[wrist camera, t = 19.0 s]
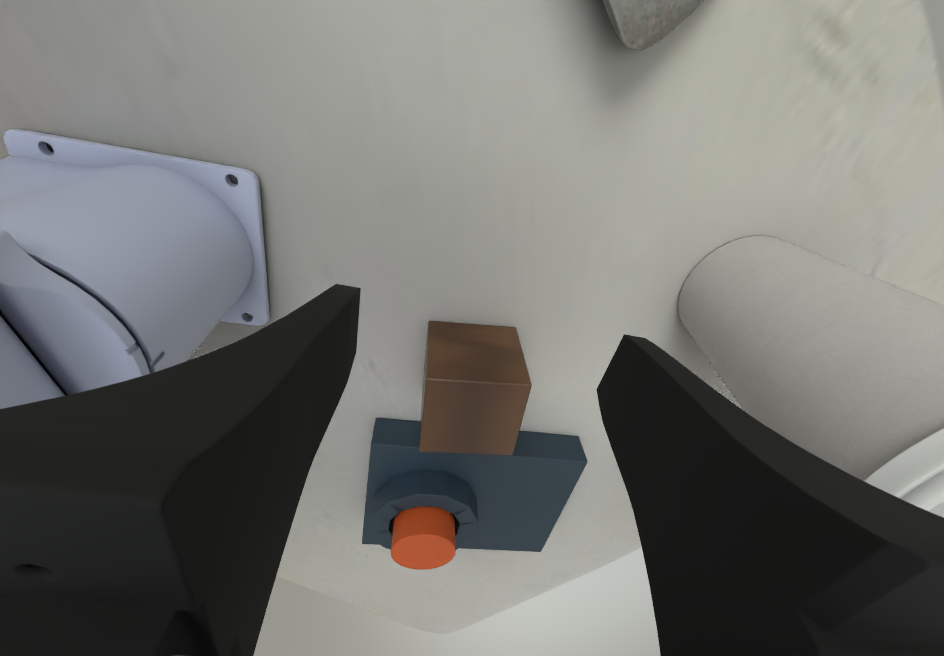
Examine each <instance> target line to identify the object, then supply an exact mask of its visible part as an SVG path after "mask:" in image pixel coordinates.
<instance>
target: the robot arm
mask: <svg viewBox="0 0 944 656" xmlns="http://www.w3.org/2000/svg"><path fill="white" fill-rule="evenodd" d="M3 138H4V142H5V145H6V148H7V150H8V153H9V156H10V157H8V158H4V159H0V656H253V655H254V651H255V647H256V644H257V640H258V636H259V633H260V630H261V626H262V623H263V619H264V615H265V612H266V608H267V605H268V601H269V598H270V595H271V591H272V588H273V585H274V581H275V578H276V574H277V571H278V568H279V564H280V561H281V558H282V554H283V551H284V548H285V544H286V541H287V538H288V535H289V532H290V528H291V525H292V522H293V519H294V516H295V512H296V509H297V506H298V503H299V500H300V497H301V494H302V491H303V488H304V485H305V481H306V478H307V475H308V472H309V469H310V467H311V464H312V462H313V459H314V457H315V454H316V452H317V450H318V447H319V445H320V443H321V441H322V438H323V436H324V434H325V432H326V430H327V427H328V425H329V423H330V421H331V418H332V416H333V414H334V412H335V409H336V407H337V405H338V403H339V400H340V398H341V396H342V393H343V391H344V389H345V387H346V384H347V381H348V378H349V375H350V371H351V368H352V364H353V361H354V357H355V354H356V346H357V332H358V318H359V303H360V289H361V288H356V287H351V286H345V285H339V284H336V285H334V286H332V287H331V288H329V289H328V290H326V291H324V292H323V293H321V294H320V295H318V296H317V297H315V298H314V299H312V300H311V301H309V302H307V303H306V304H304V305H303V306H301V307H300V308H298V309H296V310H295V311H293V312H292V313H290V314H288V315H287V316H285V317H283V318H281V319H279V320H278V321H276V322H274V323H272V324H270V325H268V326H267V327H265V328H263V329H261V330H259V331H257V332H255V333H254V334H252V335H250V336H247V337H245V338H243V339H241V340H239V341H237V342H235V343H232V344H230V345H228V346H225V347H223V348H221V349H218V350H216V351H213V352H211V353H208V354H206V355H203V356H201V357H198V358H195V359H192V360H189V361H187V360H188V359H189V357H190V356H191V355H192V354H193V353H194V351H195V350H196V349H197V348H198V347H199V345H200V344H201V343H202V342H203V341H204V340H205V338H206V337H207V336H208V335H209V334H210V332H211V331H212V330H213V329H214V328H215V326H216V325H217V324H218V323H219V322H220V321H221V322H229V323H237V324H246V325H254V326H263V325H265V324H266V323H267V322H268V321H269V318H270V312H269V300H268V287H267V274H266V261H265V249H264V236H263V223H262V210H261V198H260V185H259V180H258V177H257V176H256V175H255V174H254V173H253V172H252V171H250V170H247V169H243V168H238V167H232V166H226V165H221V164H215V163H209V162H204V161H198V160H192V159H187V158H181V157H175V156H170V155H164V154H158V153H153V152H147V151H141V150H136V149H130V148H125V147H119V146H113V145H108V144H102V143H96V142H91V141H85V140H79V139H74V138H68V137H62V136H57V135H51V134H45V133H40V132H34V131H29V130H23V129H12V130H8V131H6V132H5V133H4V135H3ZM46 143H48V144H49V145H50V146H51V147H52V148H53V150H54V153H53V152H51V151H50V150H49V149H48V148H47V146H46ZM229 174H232V175H234V176H235V177H236V178H237V179H238V184H237V185H236V184H234V183H232V182H231V181H230V179H229ZM245 313H248V314H250V315H251V316H252V318H250V317H248V316H246V315H245ZM597 394H598V400H599V406H600V411H601V416H602V420H603V424H604V427H605V430H606V433H607V436H608V438H609V441H610V444H611V447H612V450H613V453H614V456H615V458H616V461H617V464H618V467H619V470H620V472H621V475H622V478H623V481H624V484H625V486H626V489H627V492H628V495H629V498H630V501H631V505H632V508H633V511H634V516H635V520H636V524H637V528H638V532H639V537H640V541H641V545H642V550H643V554H644V559H645V564H646V569H647V574H648V579H649V584H650V589H651V595H652V601H653V607H654V613H655V619H656V625H657V631H658V638H659V645H660V654H661V656H944V518H943V517H941V516H938V515H936V514H934V513H931V512H929V511H927V510H924V509H922V508H920V507H917V506H915V505H913V504H911V503H908V502H906V501H904V500H902V499H900V498H898V497H896V496H894V495H892V494H889V493H887V492H885V491H883V490H881V489H879V488H877V487H875V486H873V485H870V484H868V483H867V482H865V481H863V480H861V479H859V478H857V477H855V476H853V475H851V474H849V473H847V472H845V471H843V470H841V469H839V468H837V467H836V466H834V465H832V464H830V463H828V462H826V461H825V460H823V459H821V458H819V457H817V456H815V455H814V454H812V453H810V452H808V451H806V450H805V449H803V448H801V447H800V446H798V445H796V444H794V443H793V442H791V441H789V440H788V439H786V438H785V437H783V436H781V435H780V434H778V433H777V432H775V431H773V430H772V429H770V428H769V427H767V426H765V425H764V424H762V423H761V422H759V421H758V420H756V419H755V418H753V417H752V416H750V415H749V414H747V413H746V412H745V411H743V410H742V409H740V408H739V407H738V406H736V405H735V404H733V403H732V402H731V401H729V400H728V399H726V398H725V397H724V396H722V395H721V394H720V393H718V392H717V391H716V390H714V389H713V388H712V387H710V386H709V385H708V384H706V383H705V382H704V381H702V380H701V379H700V378H699V377H697V376H696V375H695V374H693V373H692V372H691V371H690V370H688V369H687V368H686V367H684V366H683V365H682V364H681V363H679V362H678V361H677V360H675V359H674V358H673V357H672V356H670V355H669V354H668V353H666V352H665V351H663V350H662V349H661V348H659V347H658V346H657V345H655V344H654V343H652V342H650V341H649V340H647V339H645V338H641V337H635V336H630V335H624V336H623V338H622V340H621V342H620V344H619V346H618V348H617V350H616V352H615V354H614V356H613V358H612V360H611V362H610V364H609V366H608V368H607V370H606V372H605V374H604V376H603V378H602V380H601V382H600V384H599V386H598V388H597Z"/></svg>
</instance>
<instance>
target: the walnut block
mask: <svg viewBox="0 0 944 656" xmlns="http://www.w3.org/2000/svg"><path fill="white" fill-rule="evenodd" d="M531 386H532V385H531V381H530V377H529V374H528V370H527V366H526V363H525V359H524V355H523V352H522V348H521V345H520V341H519V337H518V334H517V330H516V328H514V327H501V326H489V325H476V324H463V323H450V322H437V321H429V322H428V332H427V344H426V355H425V366H424V377H423V389H422V407H421V424H420V442H419V451H420V452H442V453H468V454H494V455H512V454H513V451H514V448H515V444H516V440H517V437H518V433H519V429H520V426H521V422H522V419H523V415H524V411H525V408H526V404H527V400H528V397H529V393H530V390H531Z"/></svg>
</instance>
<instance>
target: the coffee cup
mask: <svg viewBox="0 0 944 656" xmlns="http://www.w3.org/2000/svg"><path fill="white" fill-rule="evenodd" d="M678 312H679V316H680V319H681V321H682V323H683V325H684V326H685V328H686V329H687V330H688V332H689V333H690V335H691V336H692V338H693V339H694V340H695V342H696V343H697V345H698V346H699V348H700V349H701V350H702V352H703V353H704V355H705V356H706V357H707V359H708V360H709V362H710V363H711V365H712V366H713V367H714V369H715V370H716V372H717V373H718V375H719V376H720V377H721V379H722V380H723V382H724V383H725V385H726V386H727V387H728V389H729V390H730V392H731V393H732V395H733V396H734V397H735V399H736V400H737V402H738V403H739V405H740V406H741V407H742V409H743V410H744V411H745V412H746V413H747V414H749V415H750V416H752V417H753V418H755V419H756V420H758V421H759V422H761V423H762V424H764V425H765V426H767V427H769V428H770V429H772V430H773V431H775V432H777V433H778V434H780V435H781V436H783V437H785V438H786V439H788V440H789V441H791V442H793V443H794V444H796V445H798V446H800V447H801V448H803V449H805V450H806V451H808V452H810V453H812V454H814V455H815V456H817V457H819V458H821V459H823V460H825V461H826V462H828V463H830V464H832V465H834V466H836V467H837V468H839V469H841V470H843V471H845V472H847V473H849V474H851V475H853V476H855V477H857V478H859V479H861V480H863V481H865V482H867V483H868V484H870V485H873V486H875V487H877V488H879V489H881V490H883V491H885V492H887V493H889V494H892V495H894V496H896V497H898V498H900V499H902V500H904V501H906V502H908V503H911V504H913V505H915V506H917V507H920V508H922V509H924V510H927V511H929V512H931V513H934V514H936V515H938V516H941V517H943V518H944V305H943V304H941V303H938V302H936V301H933V300H931V299H928V298H925V297H923V296H920V295H918V294H915V293H913V292H910V291H908V290H905V289H903V288H900V287H898V286H895V285H893V284H890V283H888V282H885V281H883V280H880V279H878V278H875V277H873V276H870V275H868V274H865V273H863V272H860V271H857V270H855V269H852V268H850V267H847V266H845V265H842V264H840V263H837V262H835V261H832V260H830V259H827V258H825V257H822V256H820V255H817V254H815V253H812V252H810V251H807V250H805V249H802V248H800V247H797V246H795V245H792V244H790V243H787V242H785V241H782V240H780V239H777V238H774V237H769V236H750V237H745V238H741V239H737V240H734V241H732V242H729V243H727V244H725V245H723V246H721V247H720V248H718V249H716V250H715V251H713V252H712V253H710V254H709V255H708V256H706V257H705V258H704V259H703V260H702V261H701V262H700V263H699V264H698V265H697V266H696V267H695V268H694V269H693V271H692V272H691V273H690V275H689V276H688V278H687V279H686V281H685V283H684V285H683V287H682V289H681V292H680V295H679V301H678Z"/></svg>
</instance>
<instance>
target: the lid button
mask: <svg viewBox="0 0 944 656" xmlns="http://www.w3.org/2000/svg"><path fill="white" fill-rule="evenodd" d="M455 552H456V549H455V520H454V517H453V515H452V514H451V513H450V512H448V511H446V510H443V509H441V508H439V507H424V506H419V507H415V508H411V509H407V510H404V511H401V512H400V513H398V514H397V516H396V517H395V519H394V525H393V535H392V545H391V556H392V558H393V560H394V561H395V562H396V563H398V564H399V565H401V566H404V567H407V568H411V569H432V568H437V567H440V566H442V565H444V564H446V563H448V562H449V561H451V560H452V558H453V557H454V555H455Z"/></svg>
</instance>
